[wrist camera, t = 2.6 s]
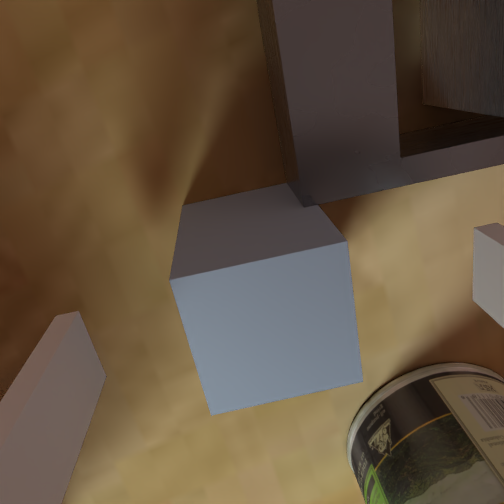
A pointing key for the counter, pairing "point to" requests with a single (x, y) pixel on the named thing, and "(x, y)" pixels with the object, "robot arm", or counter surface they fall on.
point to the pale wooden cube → (463, 55)
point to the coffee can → (432, 438)
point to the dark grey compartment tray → (355, 105)
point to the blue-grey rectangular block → (265, 298)
